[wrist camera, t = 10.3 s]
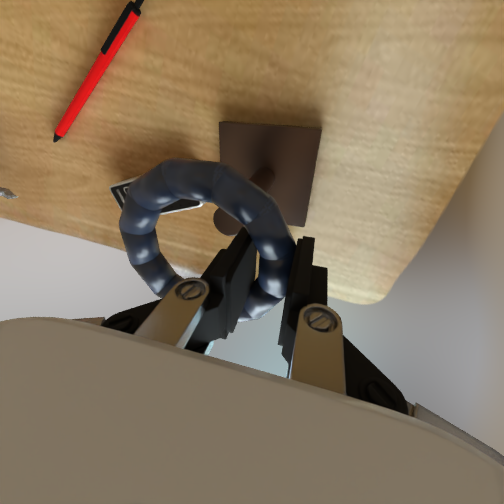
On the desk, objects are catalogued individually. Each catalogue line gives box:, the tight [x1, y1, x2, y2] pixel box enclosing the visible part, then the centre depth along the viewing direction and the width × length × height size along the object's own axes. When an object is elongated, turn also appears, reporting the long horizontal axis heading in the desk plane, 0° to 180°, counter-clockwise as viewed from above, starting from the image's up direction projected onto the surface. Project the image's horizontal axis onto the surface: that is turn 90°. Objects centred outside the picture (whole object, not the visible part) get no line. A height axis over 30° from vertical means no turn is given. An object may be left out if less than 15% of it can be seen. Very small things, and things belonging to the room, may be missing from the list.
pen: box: [53, 0, 144, 143], centre depth 23 cm, size 1×19×1 cm, turn 126°
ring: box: [119, 158, 296, 322], centre depth 12 cm, size 9×9×2 cm
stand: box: [213, 121, 322, 236], centre depth 19 cm, size 9×9×11 cm
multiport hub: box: [109, 175, 206, 215], centre depth 27 cm, size 4×11×2 cm, turn 107°
